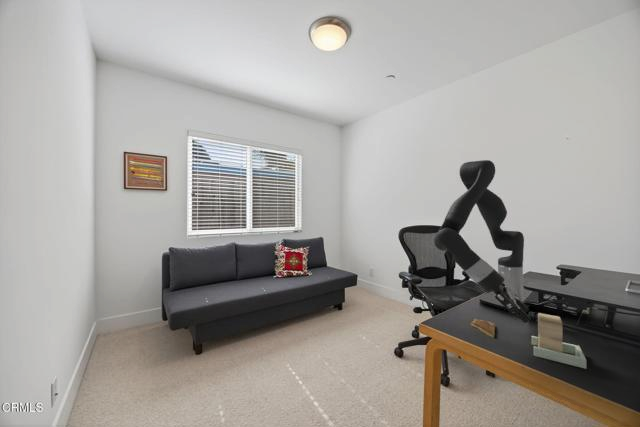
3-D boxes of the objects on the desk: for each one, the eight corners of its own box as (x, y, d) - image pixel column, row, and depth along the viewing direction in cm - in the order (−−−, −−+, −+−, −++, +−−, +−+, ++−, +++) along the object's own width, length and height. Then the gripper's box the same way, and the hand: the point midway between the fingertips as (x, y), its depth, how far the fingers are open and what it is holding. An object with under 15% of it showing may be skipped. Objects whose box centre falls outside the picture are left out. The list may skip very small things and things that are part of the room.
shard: (494, 339, 86) (494, 334, 86) (468, 333, 90) (468, 328, 90) (495, 327, 95) (495, 322, 95) (471, 322, 99) (471, 317, 99)
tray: (531, 343, 82) (531, 335, 82) (579, 353, 76) (579, 345, 76) (533, 355, 76) (533, 347, 75) (586, 368, 69) (586, 359, 69)
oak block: (538, 347, 80) (537, 312, 80) (559, 352, 77) (559, 316, 77) (539, 354, 76) (539, 318, 76) (562, 360, 73) (562, 322, 73)
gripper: (492, 272, 79) (540, 318, 72) (493, 264, 90) (536, 302, 84) (472, 286, 82) (517, 331, 75) (476, 276, 93) (516, 314, 87)
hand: (527, 316), depth 79 cm, fingers open, 8 cm apart
